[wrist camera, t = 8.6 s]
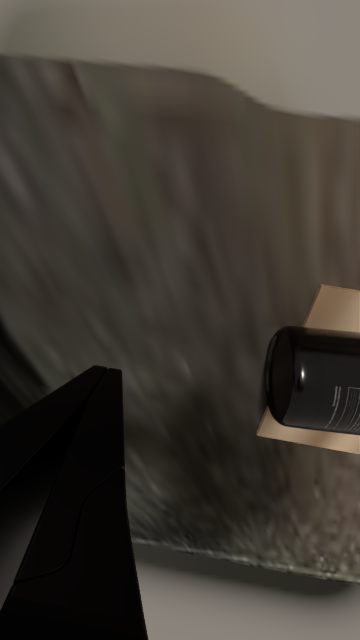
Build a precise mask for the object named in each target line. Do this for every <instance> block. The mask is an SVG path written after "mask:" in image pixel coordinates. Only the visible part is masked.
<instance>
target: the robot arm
mask: <svg viewBox="0 0 360 640" xmlns="http://www.w3.org/2000/svg"><path fill="white" fill-rule="evenodd" d="M0 640H148V636H147V630H146V625H145V619H144V613H143V607H142V601H141V595H140V589H139V583H138V577H137V572H136V565H135V559H134V553H133V547H132V541H131V535H130V527H129V520H128V512H127V501H126V486H125V458H124V424H123V389H122V371H121V370H119V369H114V368H109V369H108V368H107V367H103V366H97V365H95V366H92V367H91V368H89V369H87V370H86V371H84V372H83V373H81V374H80V375H78V376H77V377H75V378H74V379H72V380H70V381H69V382H67V383H66V384H64V385H63V386H61V387H60V388H58V389H57V390H55V391H53V392H52V393H50V394H49V395H47V396H46V397H44V398H43V399H41V400H40V401H38V402H36V403H35V404H33V405H32V406H30V407H29V408H27V409H26V410H24V411H23V412H21V413H19V414H18V415H16V416H15V417H13V418H12V419H10V420H9V421H7V422H6V423H4V424H2V425H1V426H0Z"/></svg>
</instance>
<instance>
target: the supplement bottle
mask: <svg viewBox="0 0 360 640" xmlns="http://www.w3.org/2000/svg"><path fill="white" fill-rule="evenodd" d="M266 397H267V403H268V407H269V410H270V413H271V415H272V417H273V418H274V420H275V421H276V422H278V423H279V424H281V425H283V426H286V427H292V428H300V429H308V430H316V431H325V432H333V433H342V434H350V435H359V436H360V332H352V331H341V330H331V329H320V328H309V327H297V326H286V327H283V328H281V329H279V330H278V331H277V332H276V334H275V335H274V337H273V339H272V341H271V344H270V347H269V352H268V356H267V363H266Z"/></svg>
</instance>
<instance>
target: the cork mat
mask: <svg viewBox="0 0 360 640" xmlns="http://www.w3.org/2000/svg"><path fill="white" fill-rule="evenodd" d="M302 327H309V328H320V329H331V330H341V331H352V332H360V291H359V290H353V289H347V288H341V287H336V286H330V285H324V284H320V285H319V287H318V289H317V292H316V294H315V296H314V299H313V301H312V303H311V306H310V308H309V310H308V313H307V315H306V317H305V320H304V322H303V324H302ZM256 433H257V436H263V437H268V438H273V439H279V440H284V441H290V442H295V443H301V444H306V445H312V446H317V447H323V448H328V449H334V450H339V451H345V452H350V453H356V454H360V436H359V435H350V434H342V433H333V432H325V431H316V430H308V429H300V428H292V427H286V426H283V425H281V424H279V423H278V422H276V421H275V420H274V418H273V417H272V415H271V413H270V410H269V407H268V406H267V408H266V411H265V413H264V415H263V418H262V420H261V422H260V425H259V427H258V429H257V432H256Z"/></svg>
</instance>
